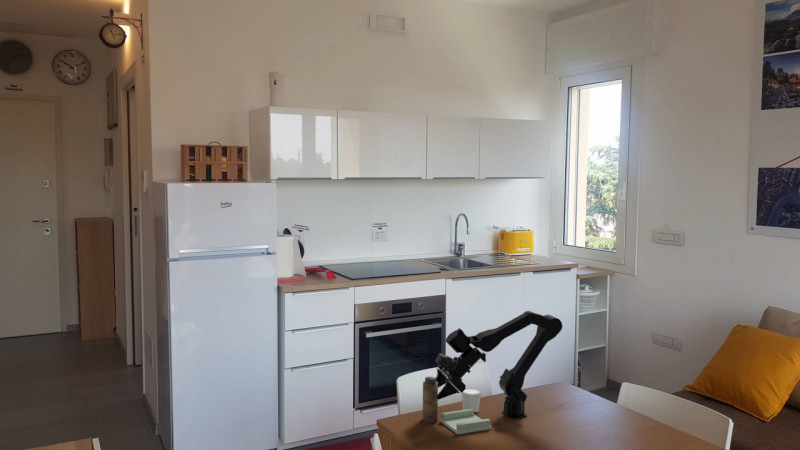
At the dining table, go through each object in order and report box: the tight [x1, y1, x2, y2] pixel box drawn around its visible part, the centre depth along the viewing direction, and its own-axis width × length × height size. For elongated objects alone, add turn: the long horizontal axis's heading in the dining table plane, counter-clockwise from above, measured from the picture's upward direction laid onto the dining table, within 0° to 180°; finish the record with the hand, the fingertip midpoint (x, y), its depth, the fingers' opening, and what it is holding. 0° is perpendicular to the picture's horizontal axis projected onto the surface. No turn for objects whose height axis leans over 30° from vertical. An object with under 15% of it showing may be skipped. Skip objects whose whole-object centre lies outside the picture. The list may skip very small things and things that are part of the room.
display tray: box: [439, 409, 493, 435], centre depth 207 cm, size 13×12×3 cm
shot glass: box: [461, 388, 482, 413], centre depth 222 cm, size 7×7×7 cm
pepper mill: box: [422, 376, 439, 423], centre depth 212 cm, size 5×5×15 cm
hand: (433, 394), depth 212 cm, fingers open, 9 cm apart
